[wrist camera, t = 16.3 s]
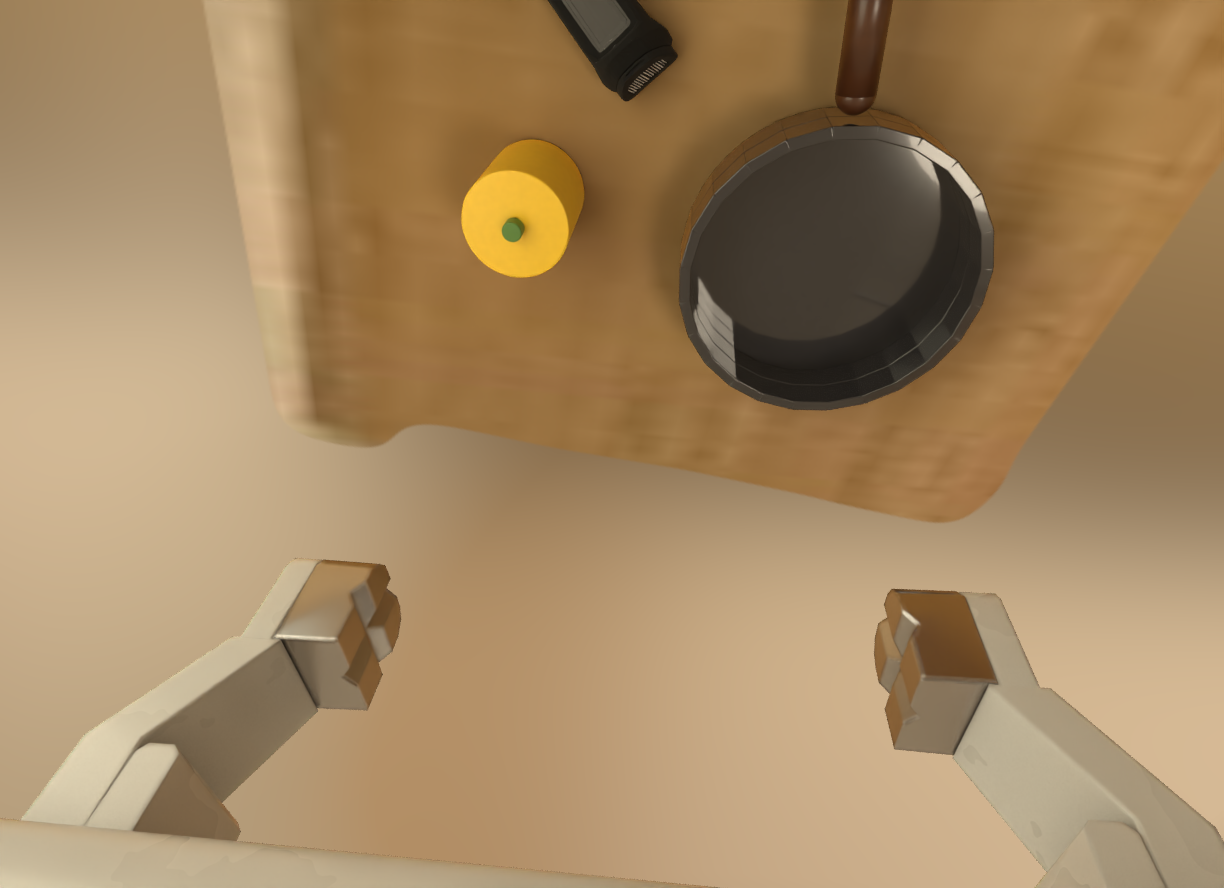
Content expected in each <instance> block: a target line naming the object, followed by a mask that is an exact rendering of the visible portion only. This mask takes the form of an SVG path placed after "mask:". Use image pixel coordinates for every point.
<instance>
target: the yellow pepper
mask: <svg viewBox="0 0 1224 888" xmlns="http://www.w3.org/2000/svg"><path fill="white" fill-rule="evenodd" d="M583 203H584V185H583V181H582V177H581V174H580V172H579V170H578V168H577V166H576V165H575V163H574V162H573V160H572V159H571V158H570V157H569V156H568V155H567V154H566V153H565V152H564V151H563V150H561V149H560V148H558V147H557V146H555V145H553V144H551V143H548V142H545V141H541V140H534V139H529V140H522V141H518V142H515V143H513V144H511V145H509V146H507V147H506V148H505V149H503V150H502V151H501V152H500V153H499V154H498V156H497V157H496V158H495V159H494V160H493V162H492V163H491V164H490V165H489V166H488V168H487V169H486V170H485V171H484V172H483V174H482V175H481V176H480V177H479V179H478V180H477V181H476V182H475V183H474V185H473V186H472V187H471V188H470V190H469V191H468V193H467V195H466V197H465V199H464V203H463V206H462V213H461V221H462V228H463V232H464V235H465V238H466V241H467V243H468V244H469V246H470V248H471V249H472V251H473V252H474V254H475V255H476V256H477V257H478V258H479V259H480V260H481V261H482V262H483V263H484V264H485V265H487V266H488V267H489V268H491V269H493V270H494V271H496V272H499V273H501V274H504V275H507V276H511V277H519V278H524V277H532V276H536V275H539V274H542V273H544V272H546V271H548V270H549V269H551V268H552V267H553V266H554V265H555V264H557V262H558V261H559V260H560V259H561V257H562V256H563V254H564V252H565V250H566V247H567V245H568V242H569V240H570V237H571V235H572V232H573V230H574V227H575V225H576V222H577V220H578V217H579V215H580V212H581V210H582V207H583Z"/></svg>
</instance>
